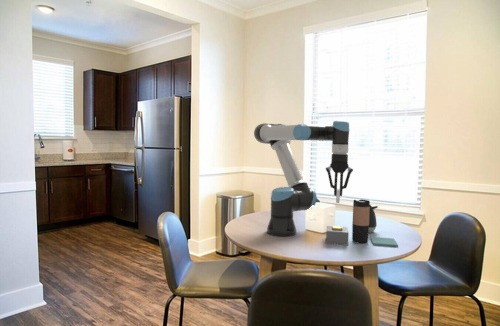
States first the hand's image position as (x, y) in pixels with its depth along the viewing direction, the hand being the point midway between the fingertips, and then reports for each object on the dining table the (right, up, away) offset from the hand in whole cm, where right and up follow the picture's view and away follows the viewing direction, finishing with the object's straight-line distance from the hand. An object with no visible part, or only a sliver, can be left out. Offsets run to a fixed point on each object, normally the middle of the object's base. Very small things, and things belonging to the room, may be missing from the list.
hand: (337, 202), depth 167 cm
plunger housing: (0, -19, +1) cm, 19 cm away
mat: (+22, -19, 0) cm, 29 cm away
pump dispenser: (+21, -18, +20) cm, 34 cm away
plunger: (0, -18, +1) cm, 18 cm away
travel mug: (+11, -19, +2) cm, 22 cm away
